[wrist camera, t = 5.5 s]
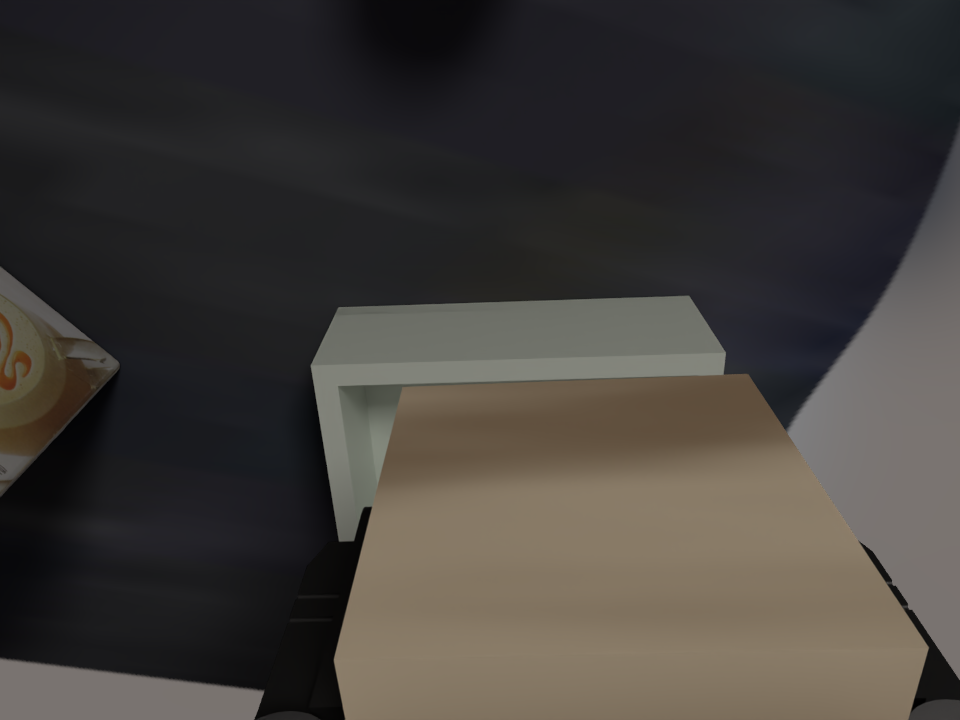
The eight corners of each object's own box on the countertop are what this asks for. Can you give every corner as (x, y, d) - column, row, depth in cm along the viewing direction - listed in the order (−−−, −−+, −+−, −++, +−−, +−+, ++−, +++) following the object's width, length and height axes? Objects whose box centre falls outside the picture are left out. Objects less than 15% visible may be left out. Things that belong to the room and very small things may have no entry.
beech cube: (402, 387, 11) (334, 658, 6) (747, 373, 11) (929, 647, 6) (431, 636, 13) (395, 972, 9) (718, 630, 13) (835, 971, 8)
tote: (338, 307, 29) (310, 365, 24) (689, 295, 28) (726, 352, 24) (383, 634, 37) (368, 723, 32) (658, 629, 36) (681, 718, 32)
